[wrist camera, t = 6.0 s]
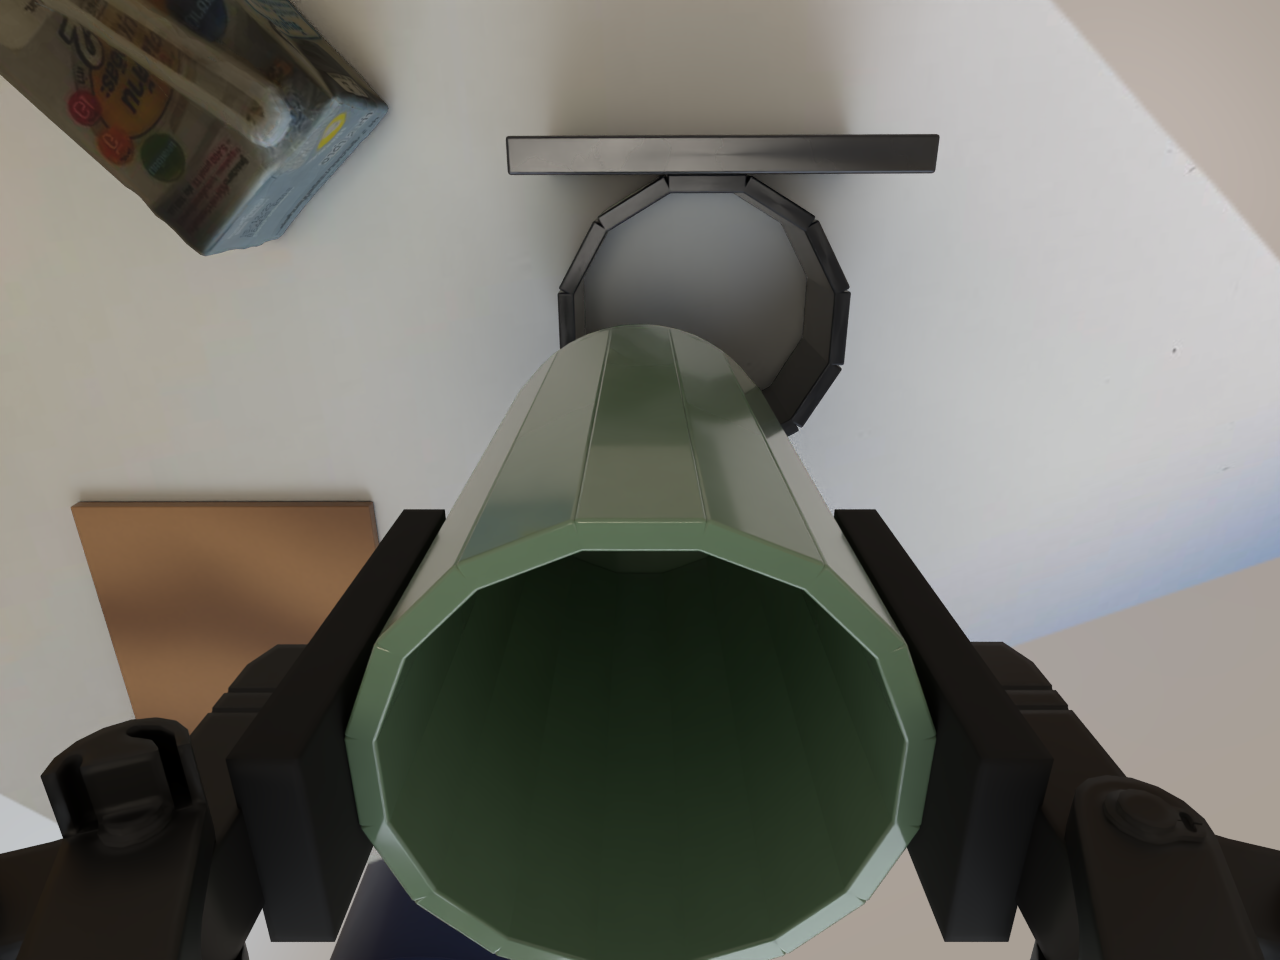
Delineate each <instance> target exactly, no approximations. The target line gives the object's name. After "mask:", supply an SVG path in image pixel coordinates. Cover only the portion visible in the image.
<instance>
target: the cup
mask: <svg viewBox="0 0 1280 960" xmlns="http://www.w3.org/2000/svg"><path fill="white" fill-rule="evenodd" d="M344 740H345V746H346V752H347V757H348V763H349V769H350V774H351V780H352V786H353V791H354V797H355V803H356V808H357V814H358V820H359V824H360V825H361V829H362V831H363V832H364V833H365V835H366V836H367V838H368V839H369V840H370V842H371V843H372V845H373V846H374V847H375V849H376V850H377V852H378V853H379V854H380V856H381V857H382V858H383V860H384V861H385V863H386V864H387V865H388V867H389V868H390V870H391V871H392V872H393V874H394V875H395V877H396V878H397V879H398V881H399V882H400V884H401V885H402V886H403V888H404V889H405V890H406V892H407V893H408V895H409V896H410V897H411V899H412V900H414V901H415V902H416V904H418V905H419V906H421V907H422V908H424V909H425V910H427V911H428V912H430V913H431V914H433V915H434V916H436V917H437V918H439V919H440V920H442V921H443V922H445V923H447V924H448V925H450V926H451V927H453V928H454V929H456V930H457V931H459V932H460V933H462V934H463V935H465V936H466V937H468V938H469V939H471V940H472V941H474V942H475V943H477V944H479V945H480V946H482V947H483V948H485V949H486V950H488V951H489V952H491V953H496V955H497V956H500V957H504V958H507V959H511V960H770V959H774V958H777V957H781V956H784V955H785V953H790V952H792V951H793V950H795V949H796V948H798V947H799V946H801V945H803V944H804V943H806V942H807V941H808V940H810V939H812V938H813V937H815V936H816V935H818V934H819V933H821V932H822V931H824V930H825V929H827V928H828V927H830V926H831V925H833V924H834V923H836V922H838V921H839V920H841V919H842V918H844V917H845V916H847V915H848V914H850V913H851V912H853V911H854V910H856V909H857V908H859V907H860V906H862V905H863V904H865V902H866V901H867V900H869V899H870V898H871V896H872V895H873V893H874V892H875V891H876V889H877V888H878V886H879V885H880V884H881V882H882V881H883V879H884V878H885V877H886V875H887V874H888V872H889V871H890V870H891V868H892V867H893V866H894V864H895V863H896V861H897V860H898V859H899V857H900V856H901V854H902V853H903V852H904V850H905V849H906V847H907V846H908V845H909V843H910V842H911V840H912V839H913V838H914V836H915V835H916V834H917V832H918V831H919V829H920V825H921V823H922V818H923V812H924V806H925V801H926V795H927V789H928V784H929V778H930V772H931V767H932V761H933V755H934V750H935V744H936V729H935V726H934V723H933V720H932V717H931V714H930V711H929V708H928V705H927V702H926V699H925V696H924V693H923V690H922V687H921V684H920V681H919V678H918V675H917V672H916V669H915V666H914V663H913V660H912V657H911V654H910V651H909V648H908V645H907V643H906V642H905V640H904V638H903V636H902V635H901V633H900V631H899V629H898V628H897V626H896V624H895V622H894V621H893V619H892V617H891V616H890V614H889V612H888V610H887V609H886V607H885V605H884V603H883V602H882V600H881V598H880V596H879V595H878V593H877V591H876V590H875V588H874V586H873V584H872V583H871V581H870V579H869V577H868V576H867V574H866V572H865V570H864V569H863V567H862V565H861V563H860V562H859V560H858V558H857V557H856V555H855V553H854V551H853V550H852V548H851V546H850V544H849V543H848V541H847V539H846V537H845V536H844V534H843V532H842V531H841V529H840V527H839V525H838V524H837V522H836V520H835V518H834V517H833V515H832V513H831V511H830V510H829V508H828V506H827V505H826V503H825V501H824V499H823V498H822V496H821V494H820V492H819V491H818V489H817V487H816V485H815V484H814V482H813V480H812V479H811V477H810V475H809V473H808V472H807V470H806V468H805V466H804V465H803V463H802V461H801V459H800V458H799V456H798V454H797V453H796V451H795V449H794V447H793V446H792V444H791V442H790V440H789V439H788V437H787V435H786V433H785V432H784V430H783V428H782V427H781V425H780V423H779V421H778V420H777V418H776V416H775V414H774V413H773V411H772V409H771V407H770V406H769V404H768V402H767V401H766V399H765V397H764V395H763V394H762V392H761V390H760V389H759V388H758V387H757V386H756V385H755V383H754V382H753V381H752V380H751V379H750V378H749V376H748V375H747V374H746V373H745V372H744V370H743V369H742V368H741V367H740V366H739V365H738V364H737V363H736V362H735V361H734V360H733V359H732V358H731V357H729V356H728V355H727V354H726V353H725V352H723V351H722V350H720V349H719V348H717V347H716V346H714V345H713V344H712V343H710V342H708V341H706V340H704V339H702V338H700V337H698V336H696V335H694V334H691V333H688V332H685V331H682V330H679V329H675V328H670V327H665V326H660V325H648V324H632V325H620V326H615V327H610V328H605V329H602V330H599V331H596V332H593V333H590V334H587V335H585V336H583V337H581V338H579V339H577V340H575V341H573V342H571V343H569V344H567V345H566V346H565V347H563V348H562V349H560V350H559V351H557V352H556V353H554V354H553V355H552V356H551V357H550V358H549V359H548V360H547V361H546V362H544V363H543V364H542V365H541V366H540V367H539V369H538V370H537V371H536V372H535V373H534V375H533V376H532V377H531V378H530V380H529V381H528V382H527V383H526V384H525V385H524V386H523V387H522V388H521V390H520V391H519V393H518V394H517V396H516V398H515V400H514V401H513V403H512V405H511V407H510V408H509V410H508V412H507V414H506V415H505V417H504V419H503V421H502V422H501V424H500V426H499V428H498V429H497V431H496V433H495V435H494V436H493V438H492V440H491V442H490V443H489V445H488V447H487V448H486V450H485V452H484V454H483V455H482V457H481V459H480V461H479V462H478V464H477V466H476V468H475V469H474V471H473V473H472V475H471V476H470V478H469V480H468V482H467V483H466V485H465V487H464V489H463V490H462V492H461V494H460V496H459V497H458V499H457V501H456V503H455V504H454V506H453V508H452V509H451V511H450V513H449V515H448V516H447V518H446V520H445V522H444V523H443V525H442V527H441V529H440V530H439V532H438V534H437V536H436V537H435V539H434V541H433V543H432V544H431V546H430V548H429V550H428V551H427V553H426V555H425V557H424V558H423V560H422V562H421V564H420V565H419V567H418V569H417V570H416V572H415V574H414V576H413V577H412V579H411V581H410V583H409V584H408V586H407V588H406V590H405V591H404V593H403V595H402V597H401V598H400V600H399V602H398V604H397V605H396V607H395V609H394V611H393V612H392V614H391V616H390V618H389V619H388V621H387V623H386V625H385V626H384V628H383V630H382V631H381V633H380V635H379V637H378V638H377V640H376V642H375V644H374V646H373V649H372V652H371V655H370V658H369V661H368V664H367V667H366V670H365V673H364V676H363V679H362V682H361V685H360V688H359V690H358V693H357V696H356V699H355V702H354V705H353V708H352V711H351V714H350V717H349V720H348V723H347V726H346V729H345V737H344Z"/></svg>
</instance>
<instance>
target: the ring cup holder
mask: <svg viewBox="0 0 1280 960" xmlns="http://www.w3.org/2000/svg"><path fill="white" fill-rule="evenodd" d="M939 138H940V137H939V135H938V134H868V135H626V136H508V137H506V150H507V166H508V173H509V174H510V175H652V174H666V175H664V176H659V177H658V178H656V179H654V180H653V181H651V182H650V183H648V184H646V185H645V186H643V187H642V188H640V189H638V190H637V191H635V192H634V193H632V194H630V195H629V196H627V197H626V198H624V199H622V200H621V201H619V202H617V203H616V204H614V205H613V206H611V207H609V208H608V209H606V210H605V211H604V212H603V213H601V214H600V215H599V216H598V218H597V219H596V220H595V221H594V222H593V223H592V225H591V227H590V229H589V231H588V233H587V235H586V237H585V239H584V241H583V242H582V244H581V246H580V248H579V250H578V252H577V254H576V256H575V258H574V260H573V262H572V264H571V266H570V267H569V269H568V271H567V273H566V275H565V277H564V279H563V281H562V283H561V285H560V287H559V289H560V291H559V293H558V314H559V337H560V349H562V348H563V347H565V346H566V345H567V344H569V343H571V342H573V341H575V340H577V339H579V338H581V337H583V336H585V335H586V330H585V297H584V277H585V275H586V273H587V271H588V269H589V268H590V266H591V264H592V262H593V260H594V258H595V256H596V254H597V253H598V251H599V249H600V247H601V245H602V243H603V241H604V239H605V237H606V236H607V234H608V232H609V231H610V230H611V229H613V228H615V227H616V226H618V225H619V224H621V223H623V222H624V221H626V220H628V219H629V218H631V217H632V216H634V215H636V214H637V213H639V212H640V211H642V210H644V209H645V208H647V207H649V206H650V205H652V204H653V203H655V202H657V201H658V200H660V199H662V198H663V197H665V196H666V195H668V194H670V193H734V194H735V195H737V196H739V197H740V198H742V199H743V200H745V201H747V202H748V203H750V204H751V205H753V206H755V207H756V208H758V209H759V210H761V211H763V212H764V213H766V214H767V215H769V216H771V217H772V218H774V219H775V220H777V221H778V222H780V223H781V225H782V227H783V229H784V231H785V233H786V235H787V237H788V239H789V241H790V243H791V245H792V247H793V249H794V251H795V253H796V255H797V257H798V259H799V262H800V264H801V266H802V268H803V270H804V272H805V274H806V276H807V286H806V300H805V313H804V326H803V337H802V339H801V340H800V342H799V343H798V345H797V347H796V348H795V350H794V351H793V353H792V354H791V356H790V357H789V359H788V360H787V362H786V363H785V365H784V366H783V368H782V369H781V371H780V373H779V374H778V376H777V377H776V379H775V380H774V382H773V383H772V385H771V386H770V387H768V388H766V389H764V390H762V391H761V392H762V394H763V395H764V397H765V399H766V401H767V402H768V404H769V406H770V407H771V409H772V411H773V413H774V414H775V416H776V418H777V420H778V421H779V423H780V425H781V427H782V428H783V430H784V432H785V433H786V435H787V437H788V436H790V435H792V434H794V433H795V432H797V431H798V427H797V426H799V427H803V425H804V424H805V423H806V421H807V420H808V418H809V417H810V415H811V414H812V412H813V411H814V409H815V408H816V406H817V405H818V404H819V402H820V401H821V399H822V398H823V396H824V395H825V393H826V392H827V390H828V389H829V387H830V386H831V385H832V383H833V382H834V380H835V379H836V377H837V376H838V374H839V373H840V371H841V367H840V366H839V365H843V364H844V358H845V347H846V337H847V327H848V317H849V306H850V296H851V293H850V292H849V291H848V290H847V289H849V284H848V282H847V280H846V278H845V275H844V273H843V271H842V269H841V267H840V265H839V263H838V261H837V258H836V256H835V254H834V252H833V250H832V248H831V246H830V244H829V241H828V239H827V237H826V235H825V233H824V231H823V229H822V226H821V224H820V222H819V221H818V220H814V219H815V216H814V215H812V214H811V213H809V212H808V211H806V210H805V209H803V208H801V207H800V206H798V205H797V204H795V203H794V202H792V201H790V200H789V199H787V198H786V197H784V196H783V195H781V194H779V193H778V192H776V191H775V190H773V189H772V188H770V187H768V186H767V185H765V184H764V183H762V182H761V181H759V180H757V179H756V178H754V177H753V176H747V175H746V174H891V173H934V172H935V168H936V161H937V153H938V145H939ZM796 425H797V426H796Z"/></svg>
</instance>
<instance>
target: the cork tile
mask: <svg viewBox="0 0 1280 960" xmlns="http://www.w3.org/2000/svg"><path fill="white" fill-rule="evenodd" d="M71 510H72V514H73V517H74V520H75V523H76V527H77V530H78V533H79V536H80V539H81V543H82V546H83V549H84V552H85V556H86V559H87V562H88V565H89V569H90V572H91V575H92V578H93V582H94V585H95V588H96V591H97V595H98V598H99V601H100V604H101V608H102V611H103V614H104V617H105V621H106V624H107V627H108V630H109V634H110V637H111V640H112V643H113V647H114V650H115V653H116V656H117V660H118V663H119V666H120V669H121V673H122V676H123V679H124V682H125V685H126V689H127V692H128V695H129V698H130V702H131V705H132V708H133V711H134V715H135V718H136V719H144V718H153V717H159V718H165V719H171V720H176V721H178V722H179V723H180V724H182V725H183V726H184V727H186V728H187V729H188V731H189V735H190V734H191V733H192V732H193V731H194V729H195V728H196V727H197V726H198V725H199V723H200V722H201V721H202V720H203V718H204V717H205V716H206V715H207V713H211V712H212V707H213V706H214V705H215V704H216V702H217V701H218V700H219V699H220V697H221V696H222V695H223V694H224V693H227V692H228V688H229V686H230V685H231V684H232V683H233V681H234V680H235V679H236V678H237V676H238V675H239V674H240V673H241V672H242V670H243V669H244V668H245V667H246V665H247V664H249V663H250V662H252V661H253V660H255V659H256V658H258V657H259V656H261V655H262V654H264V653H265V652H267V651H268V650H270V649H271V648H273V647H274V646H275V645H277V644H308V643H309V641H310V640H311V639H312V637H313V636H314V634H315V633H316V632H317V630H318V629H319V627H320V626H321V625H322V623H323V622H324V620H325V619H326V618H327V616H328V615H329V614H330V612H331V611H332V609H333V608H334V607H335V605H336V604H337V602H338V601H339V600H340V598H341V597H342V595H343V594H344V593H345V591H346V590H347V588H348V587H349V586H350V584H351V583H352V581H353V580H354V579H355V577H356V576H357V574H358V573H359V572H360V570H361V569H362V567H363V566H364V565H365V563H366V562H367V560H368V559H369V558H370V556H371V555H372V553H373V552H374V551H375V549H376V548H377V547H378V545H379V542H378V535H377V528H376V521H375V514H374V508H373V502H79V503H77V504H75V505H73V506H72V507H71Z"/></svg>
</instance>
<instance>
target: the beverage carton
mask: <svg viewBox="0 0 1280 960" xmlns="http://www.w3.org/2000/svg"><path fill="white" fill-rule="evenodd" d="M0 75H1V76H3V77H4V78H5V79H6V80H7V81H8V82H9V83H10V84H11V85H13V86H14V87H15V88H16V89H17V90H18V91H19V92H20V93H21V94H23V95H24V96H25V97H26V98H27V99H28V100H29V101H30V102H31V103H32V104H34V105H35V106H36V107H37V108H38V109H39V110H40V111H41V112H42V113H44V114H45V115H46V116H47V117H48V118H49V119H50V120H51V121H52V122H54V123H55V124H56V125H57V126H58V127H59V128H60V129H61V130H63V131H64V132H65V133H66V134H67V135H68V136H69V137H70V138H72V139H73V140H74V141H75V142H76V143H77V144H78V145H79V146H81V147H82V148H83V149H84V150H85V151H86V152H87V153H88V154H90V155H91V156H92V157H93V158H94V159H95V160H96V161H97V162H99V163H100V164H101V165H102V166H103V167H104V168H105V169H106V170H108V171H109V172H110V173H111V174H112V175H113V176H114V177H115V178H117V179H118V180H119V181H120V182H121V183H122V184H123V185H124V186H126V187H127V188H129V189H130V190H132V191H133V192H135V193H136V194H137V195H138V196H140V197H141V198H142V200H143V201H144V202H145V203H146V204H147V206H148V207H149V208H150V209H151V210H152V212H153V213H154V214H155V215H156V216H157V217H158V218H160V219H161V220H163V221H164V222H166V223H167V224H168V225H169V226H170V227H171V228H172V229H173V230H174V231H175V232H176V233H177V234H178V235H179V236H180V237H181V238H182V239H183V240H184V242H185V243H186V244H188V245H189V246H190V247H191V248H193V249H194V250H195V251H196V252H198V253H199V254H200V255H203V256H208V255H213V254H218V253H222V252H225V251H227V250H233V249H246V248H249V247H252V246H259V245H262V244H263V243H264V242H266V241H269V240H274V239H278V238H279V237H280V236H281V235H282V234H283V233H284V232H285V231H286V229H287V228H288V226H289V225H290V224H291V222H292V221H293V220H294V219H295V218H296V216H297V215H298V214H299V212H300V211H301V210H302V209H303V207H304V206H305V205H306V204H307V202H308V201H309V200H310V199H311V198H312V196H313V195H314V194H315V193H316V192H317V191H318V189H319V188H320V187H321V186H322V185H323V184H324V183H325V182H326V181H327V180H328V179H329V178H330V176H331V175H332V174H333V173H334V172H335V171H336V170H337V169H338V167H339V166H340V165H341V164H342V163H343V162H344V161H345V160H346V158H347V157H348V156H349V155H350V154H351V153H352V152H353V151H354V150H355V148H356V147H357V146H358V145H359V143H360V142H361V141H362V140H363V139H365V138H366V137H367V136H368V135H369V134H370V132H371V131H372V130H373V129H374V128H375V127H376V125H377V124H378V123H379V122H380V120H381V119H382V118H383V116H384V115H385V114H386V113H387V111H388V106H387V104H386V103H385V102H384V101H383V100H382V99H381V98H380V97H379V96H378V95H377V94H376V93H375V92H374V91H373V90H372V89H371V87H370V86H369V85H368V84H367V83H366V82H365V81H364V80H363V79H362V77H361V76H360V75H359V74H358V73H357V72H356V71H355V70H354V69H353V68H352V67H351V66H350V65H349V64H348V63H347V62H346V61H345V60H344V59H343V58H342V57H341V56H340V55H339V54H338V53H337V52H336V51H335V50H334V49H333V48H332V47H331V46H330V45H329V44H328V43H327V42H326V41H325V40H324V38H323V37H322V36H321V35H320V34H319V33H318V32H317V31H316V30H315V29H314V28H313V27H312V26H311V24H310V23H309V22H308V21H307V20H306V19H305V18H304V17H303V16H302V15H301V14H300V12H299V11H298V10H297V9H296V8H295V7H294V6H293V5H292V4H291V3H290V1H289V0H0Z"/></svg>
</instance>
